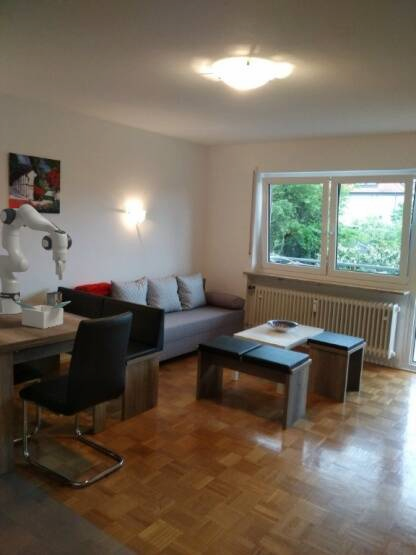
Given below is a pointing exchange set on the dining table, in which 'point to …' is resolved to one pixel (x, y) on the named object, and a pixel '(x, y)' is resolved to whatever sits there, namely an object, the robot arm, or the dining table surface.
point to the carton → (42, 316)
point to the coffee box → (54, 298)
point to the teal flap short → (61, 305)
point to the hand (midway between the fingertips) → (60, 279)
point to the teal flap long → (25, 305)
